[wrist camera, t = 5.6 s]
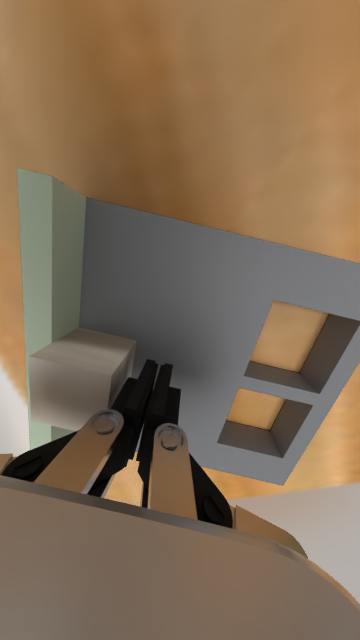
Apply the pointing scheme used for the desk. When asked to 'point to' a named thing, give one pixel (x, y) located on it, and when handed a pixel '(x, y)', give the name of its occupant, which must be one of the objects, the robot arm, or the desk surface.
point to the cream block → (78, 377)
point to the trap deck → (188, 316)
